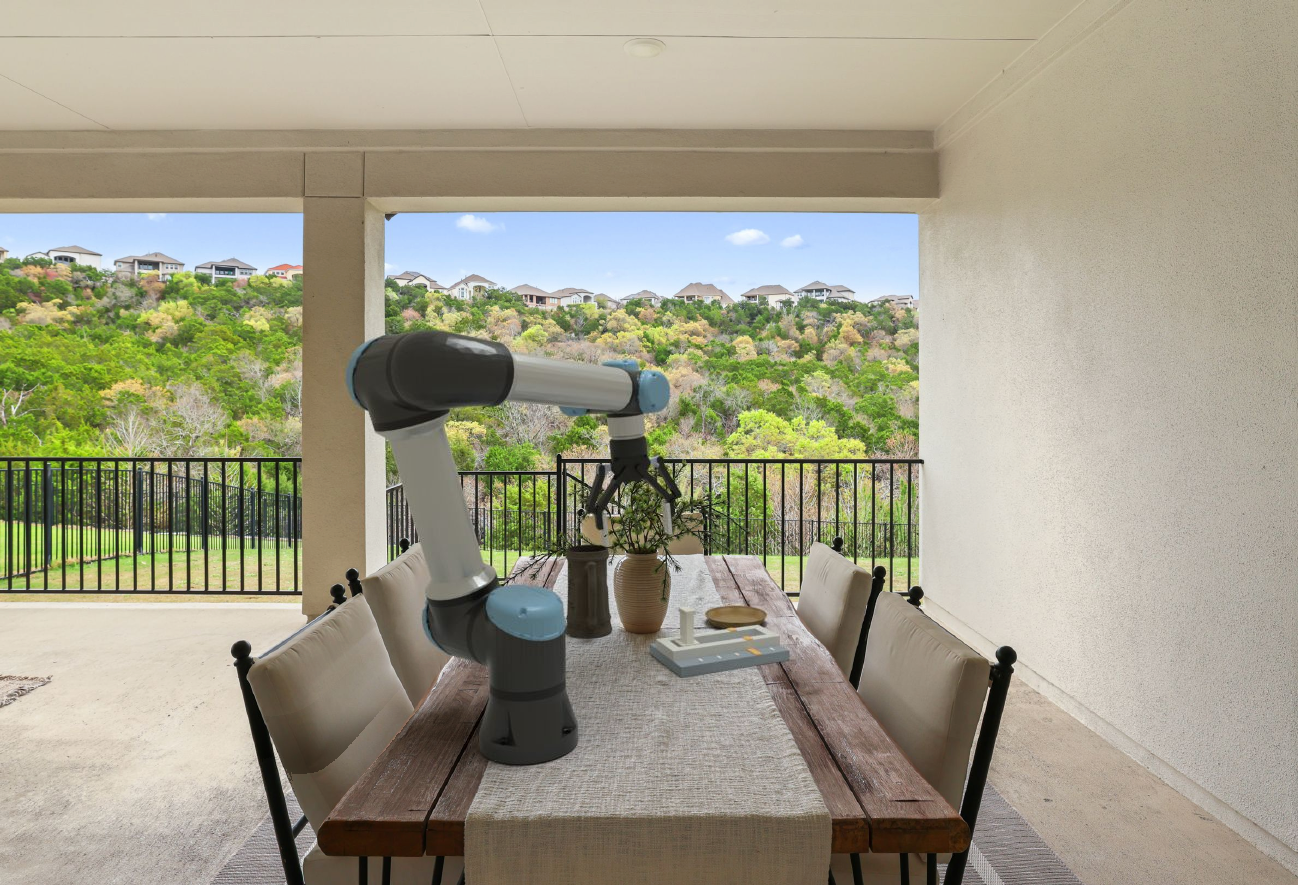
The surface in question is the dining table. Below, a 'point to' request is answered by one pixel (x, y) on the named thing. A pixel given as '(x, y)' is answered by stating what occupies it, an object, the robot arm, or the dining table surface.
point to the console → (721, 651)
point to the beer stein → (588, 592)
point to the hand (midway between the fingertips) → (637, 539)
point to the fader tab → (686, 627)
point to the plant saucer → (735, 616)
